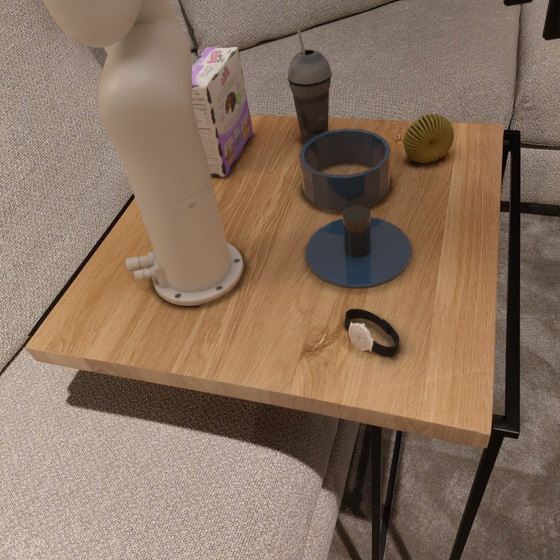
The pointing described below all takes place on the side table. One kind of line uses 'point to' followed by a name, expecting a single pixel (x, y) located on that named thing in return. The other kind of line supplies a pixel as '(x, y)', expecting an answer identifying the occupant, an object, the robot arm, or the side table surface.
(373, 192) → the tin
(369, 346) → the watch
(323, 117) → the beverage cup
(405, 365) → the side table surface
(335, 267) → the tin lid
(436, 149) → the sculpture
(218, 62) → the candy box
